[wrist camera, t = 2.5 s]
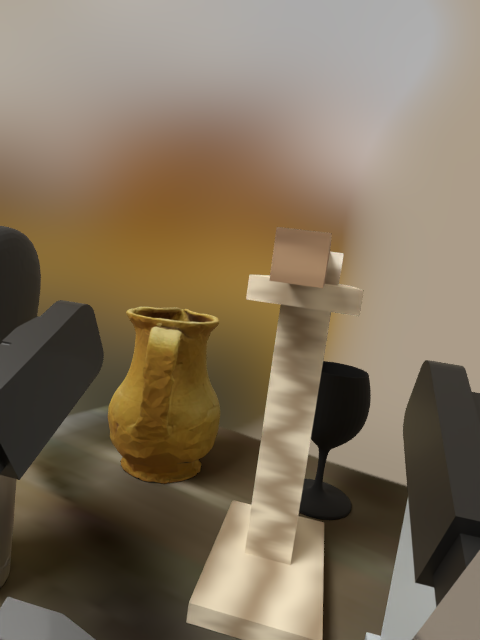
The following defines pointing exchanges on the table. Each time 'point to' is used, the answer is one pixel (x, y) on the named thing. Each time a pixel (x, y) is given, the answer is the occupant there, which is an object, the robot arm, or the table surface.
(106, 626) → the table surface
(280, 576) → the square pedestal column
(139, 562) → the table surface
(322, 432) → the wine glass
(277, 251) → the peg
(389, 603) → the white flanged block
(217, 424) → the pitcher
